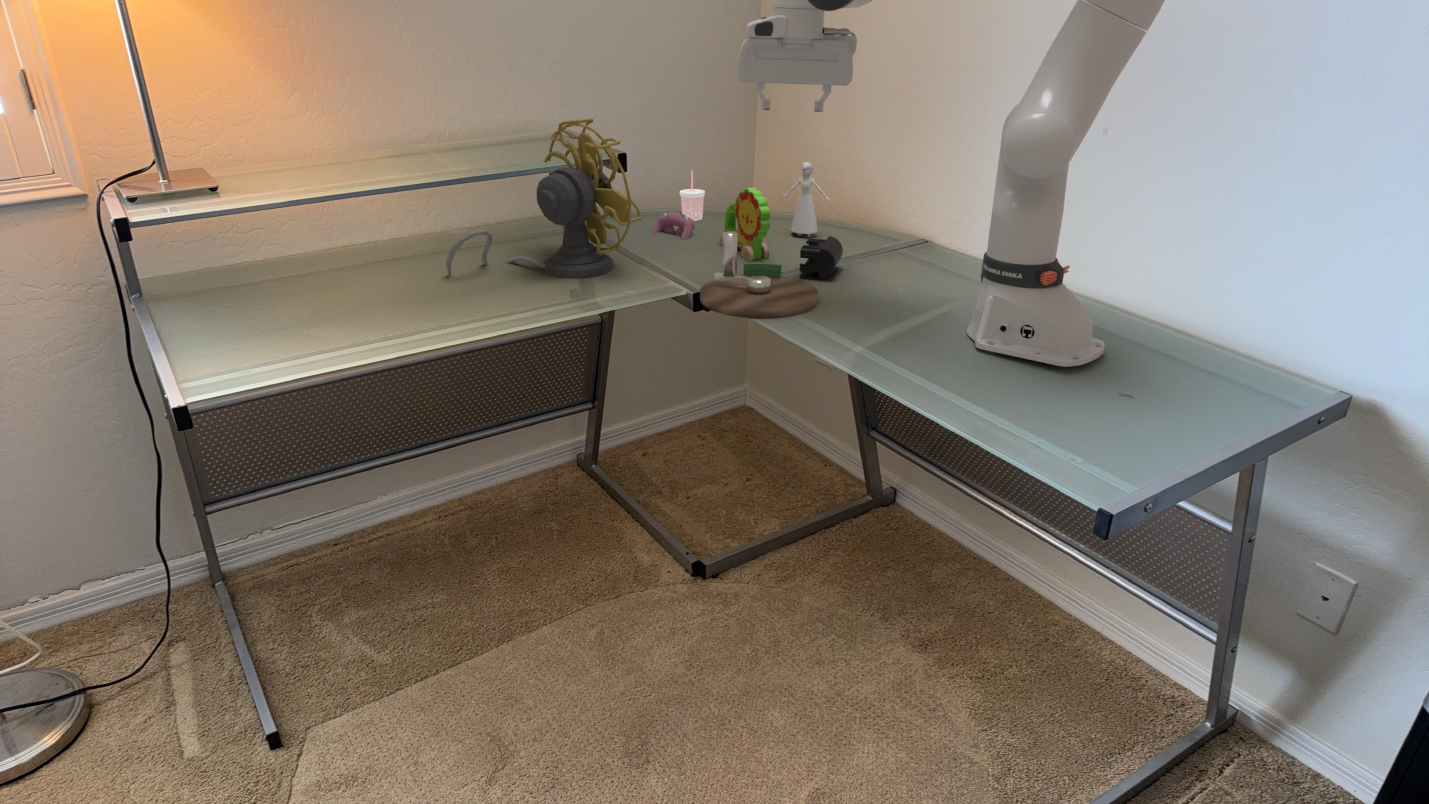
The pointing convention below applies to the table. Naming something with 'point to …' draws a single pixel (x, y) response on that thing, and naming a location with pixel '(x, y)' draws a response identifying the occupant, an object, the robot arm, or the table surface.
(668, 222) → the video game controller
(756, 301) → the dial plate
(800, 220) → the woman figurine
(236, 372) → the table surface
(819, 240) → the end cap
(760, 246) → the toy lion
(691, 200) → the beverage cup
